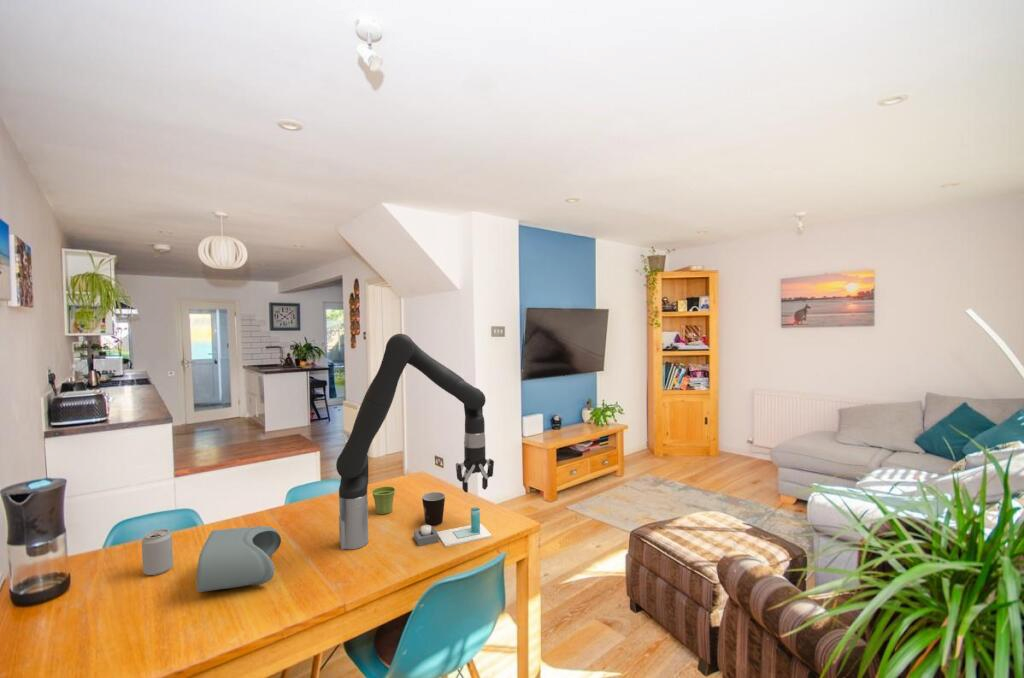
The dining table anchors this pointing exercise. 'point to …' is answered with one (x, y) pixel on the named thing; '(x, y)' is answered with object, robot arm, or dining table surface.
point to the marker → (475, 520)
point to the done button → (425, 530)
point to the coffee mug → (433, 508)
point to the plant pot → (383, 499)
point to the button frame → (426, 537)
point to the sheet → (462, 535)
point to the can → (157, 552)
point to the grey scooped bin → (237, 558)
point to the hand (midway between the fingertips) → (475, 490)
